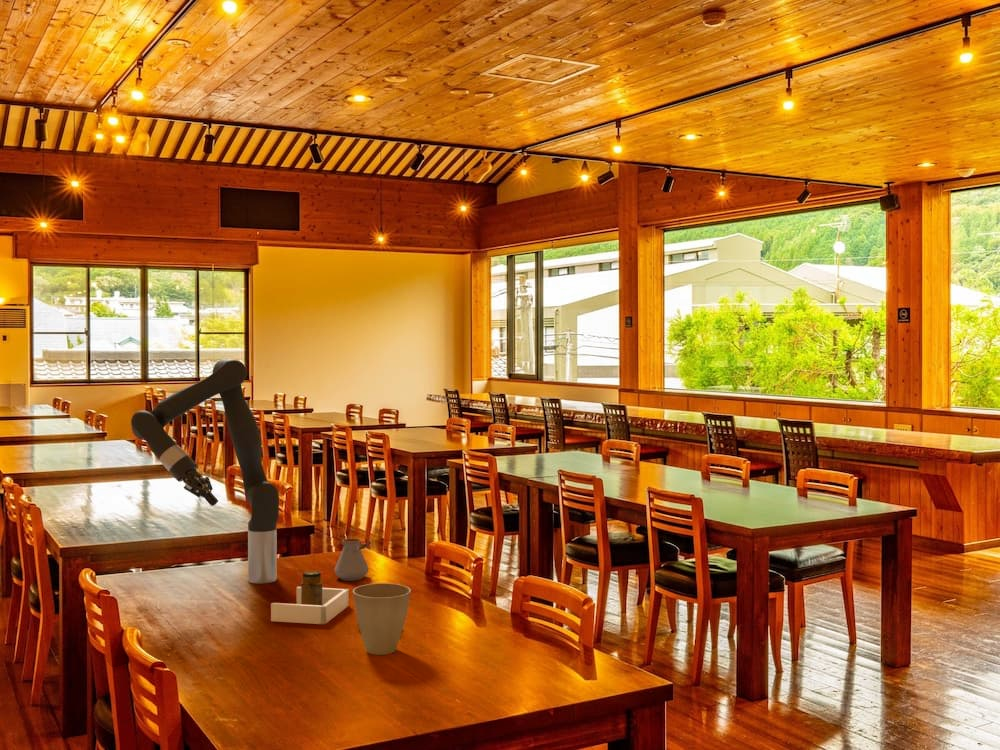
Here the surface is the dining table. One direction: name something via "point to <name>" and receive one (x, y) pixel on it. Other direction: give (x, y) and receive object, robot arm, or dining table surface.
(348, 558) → the coffee pot
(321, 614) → the caddy
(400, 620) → the plant pot
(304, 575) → the condiment
